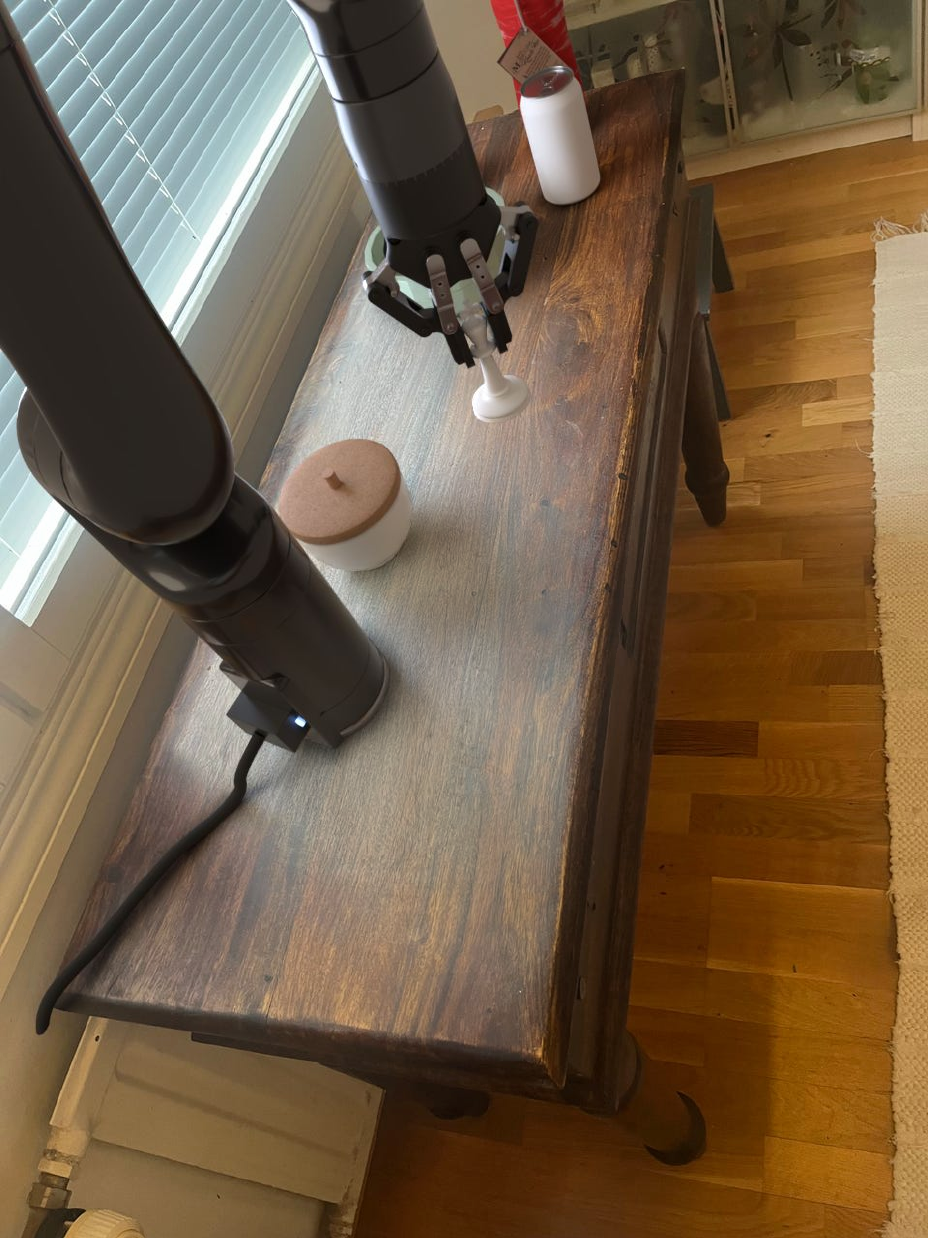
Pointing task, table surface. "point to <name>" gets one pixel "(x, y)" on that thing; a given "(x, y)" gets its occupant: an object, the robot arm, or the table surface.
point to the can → (559, 135)
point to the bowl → (458, 291)
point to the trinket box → (348, 505)
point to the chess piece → (492, 374)
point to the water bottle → (533, 39)
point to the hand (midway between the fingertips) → (485, 353)
